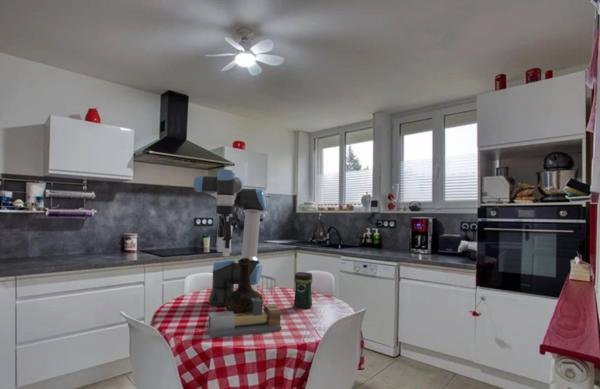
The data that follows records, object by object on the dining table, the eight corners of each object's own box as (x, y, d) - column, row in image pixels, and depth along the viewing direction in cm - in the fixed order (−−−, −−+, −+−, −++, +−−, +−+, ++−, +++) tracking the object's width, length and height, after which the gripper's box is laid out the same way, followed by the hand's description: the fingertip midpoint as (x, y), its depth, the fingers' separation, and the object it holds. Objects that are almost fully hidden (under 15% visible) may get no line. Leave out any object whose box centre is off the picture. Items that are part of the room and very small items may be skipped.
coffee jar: (313, 305, 187) (314, 272, 188) (308, 309, 180) (309, 274, 180) (297, 303, 190) (298, 270, 191) (291, 307, 183) (292, 272, 184)
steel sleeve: (208, 327, 145) (209, 312, 146) (231, 324, 149) (232, 310, 149) (210, 332, 140) (210, 317, 140) (234, 329, 144) (235, 315, 144)
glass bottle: (268, 313, 172) (270, 257, 173) (251, 324, 155) (253, 262, 156) (237, 308, 178) (239, 255, 179) (218, 318, 161) (220, 259, 162)
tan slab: (226, 322, 148) (226, 300, 149) (271, 318, 156) (272, 296, 157) (228, 327, 143) (229, 303, 143) (276, 322, 151) (276, 300, 151)
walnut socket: (263, 320, 156) (264, 304, 157) (274, 319, 158) (274, 303, 159) (269, 326, 148) (270, 310, 148) (280, 325, 150) (280, 309, 150)
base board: (207, 328, 148) (207, 324, 148) (272, 321, 160) (273, 318, 160) (211, 338, 137) (211, 334, 137) (281, 330, 148) (281, 326, 149)
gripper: (212, 204, 159) (210, 250, 158) (221, 204, 136) (219, 258, 135) (228, 205, 161) (226, 250, 161) (240, 205, 138) (238, 257, 138)
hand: (223, 253), depth 148 cm, fingers open, 13 cm apart
